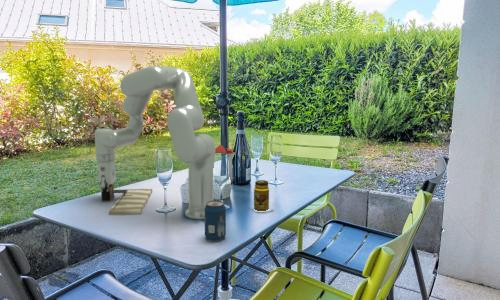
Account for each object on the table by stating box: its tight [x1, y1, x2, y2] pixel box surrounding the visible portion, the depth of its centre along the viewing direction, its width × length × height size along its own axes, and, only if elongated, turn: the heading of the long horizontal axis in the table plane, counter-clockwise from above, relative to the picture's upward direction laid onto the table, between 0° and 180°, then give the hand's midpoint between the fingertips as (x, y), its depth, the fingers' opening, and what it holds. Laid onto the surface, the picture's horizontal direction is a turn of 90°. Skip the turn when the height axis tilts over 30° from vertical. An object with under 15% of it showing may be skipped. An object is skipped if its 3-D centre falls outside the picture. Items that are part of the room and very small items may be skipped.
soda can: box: [204, 200, 227, 242], centre depth 121 cm, size 7×7×12 cm
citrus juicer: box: [215, 144, 236, 183], centre depth 187 cm, size 16×17×20 cm
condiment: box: [253, 179, 270, 211], centre depth 149 cm, size 7×8×12 cm
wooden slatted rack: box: [108, 188, 153, 216], centre depth 157 cm, size 30×12×2 cm, turn 6°
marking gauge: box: [100, 183, 127, 202], centre depth 161 cm, size 5×10×6 cm, turn 96°
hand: (108, 197), depth 161 cm, fingers closed on marking gauge, 5 cm apart
